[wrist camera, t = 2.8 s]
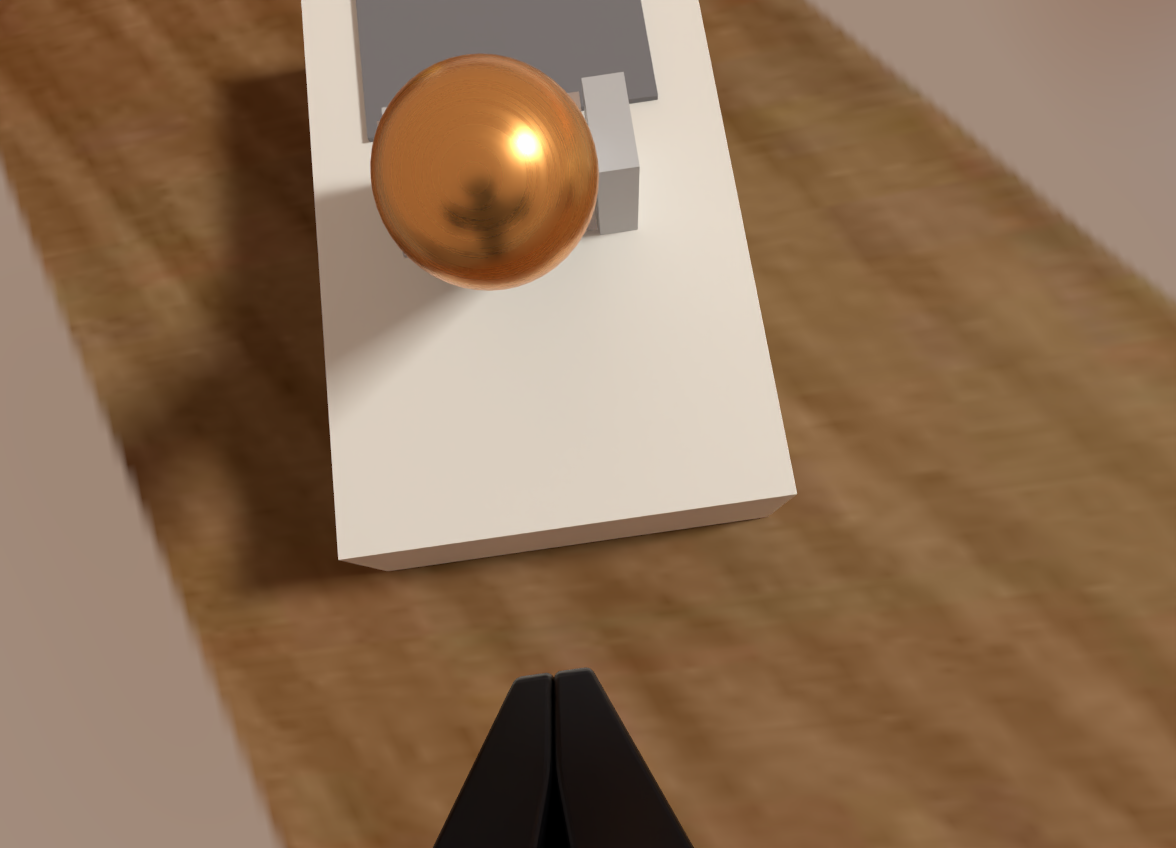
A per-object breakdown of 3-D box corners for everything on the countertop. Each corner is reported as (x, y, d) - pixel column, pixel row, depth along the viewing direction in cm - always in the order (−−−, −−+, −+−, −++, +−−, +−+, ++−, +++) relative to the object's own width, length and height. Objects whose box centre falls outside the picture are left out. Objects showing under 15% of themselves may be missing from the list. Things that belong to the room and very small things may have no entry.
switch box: (767, 517, 20) (827, 470, 14) (387, 571, 20) (288, 548, 14) (671, 11, 23) (686, -197, 17) (347, 60, 23) (252, -132, 17)
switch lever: (589, 232, 18) (620, 285, 9) (469, 250, 18) (375, 321, 9) (572, 104, 17) (585, 16, 8) (447, 122, 17) (317, 55, 8)
